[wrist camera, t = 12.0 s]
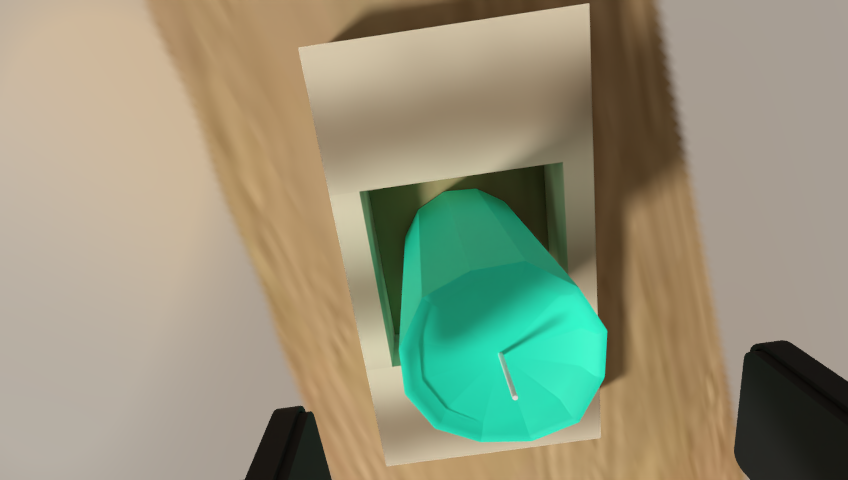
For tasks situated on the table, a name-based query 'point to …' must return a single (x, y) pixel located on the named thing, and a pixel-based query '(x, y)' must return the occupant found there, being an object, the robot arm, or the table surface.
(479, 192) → the candle
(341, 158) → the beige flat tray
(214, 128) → the table surface
